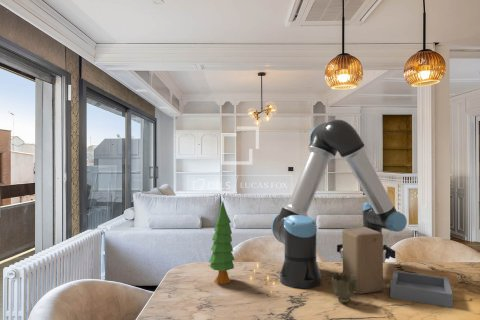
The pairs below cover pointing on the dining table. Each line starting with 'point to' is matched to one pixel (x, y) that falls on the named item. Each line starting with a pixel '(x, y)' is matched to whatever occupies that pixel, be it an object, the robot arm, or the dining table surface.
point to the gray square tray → (421, 288)
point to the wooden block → (363, 258)
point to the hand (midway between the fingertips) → (361, 256)
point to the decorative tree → (222, 247)
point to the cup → (344, 286)
